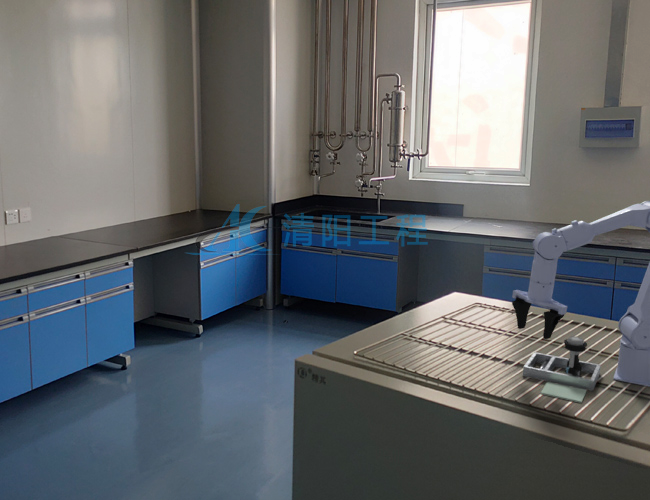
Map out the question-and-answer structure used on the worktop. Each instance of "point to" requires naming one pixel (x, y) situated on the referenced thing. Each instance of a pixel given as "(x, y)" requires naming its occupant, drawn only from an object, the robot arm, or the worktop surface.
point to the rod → (543, 365)
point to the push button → (574, 354)
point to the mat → (564, 392)
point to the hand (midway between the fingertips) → (533, 333)
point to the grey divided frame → (559, 377)
